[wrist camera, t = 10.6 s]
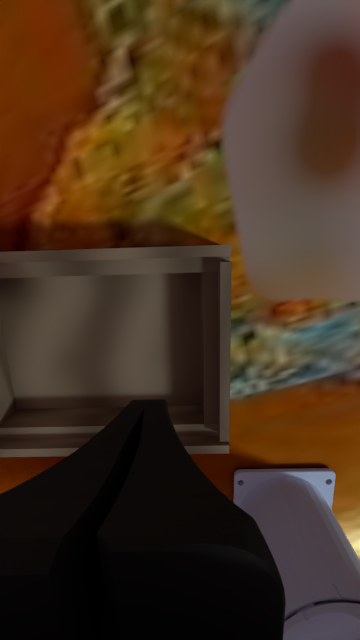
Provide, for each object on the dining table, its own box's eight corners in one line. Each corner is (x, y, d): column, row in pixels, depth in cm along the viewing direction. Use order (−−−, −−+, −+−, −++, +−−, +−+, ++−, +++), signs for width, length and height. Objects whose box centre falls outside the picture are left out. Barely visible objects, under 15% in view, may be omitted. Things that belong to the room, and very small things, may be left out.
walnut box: (222, 245, 19) (231, 244, 15) (221, 418, 22) (229, 453, 19) (-28, 253, 20) (-80, 254, 16) (5, 422, 23) (-32, 457, 19)
